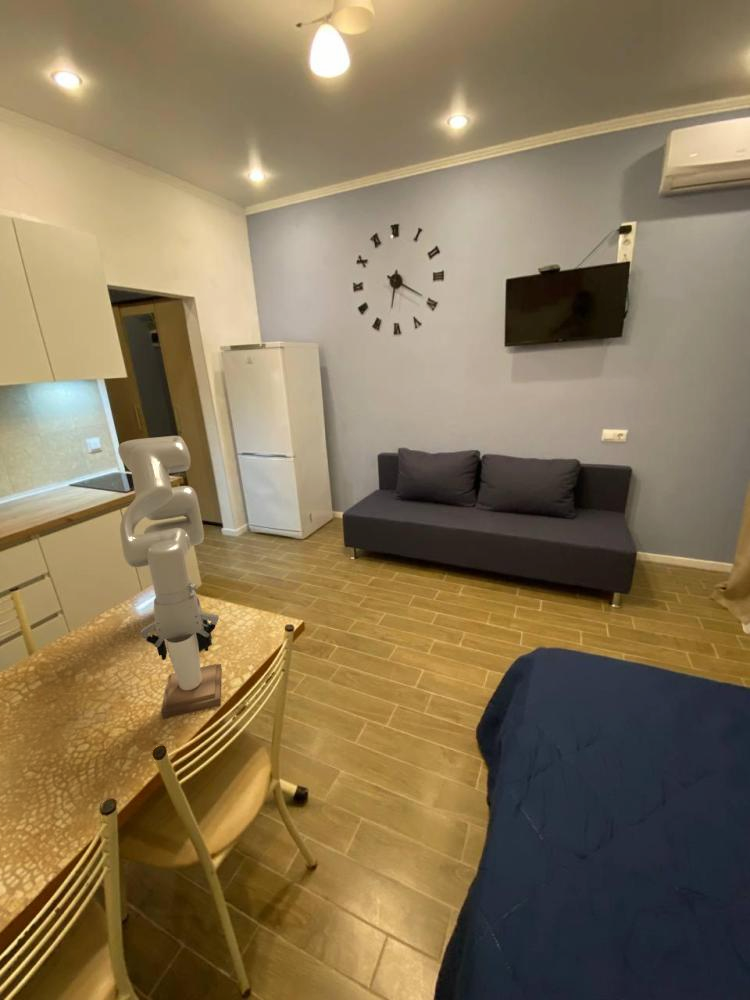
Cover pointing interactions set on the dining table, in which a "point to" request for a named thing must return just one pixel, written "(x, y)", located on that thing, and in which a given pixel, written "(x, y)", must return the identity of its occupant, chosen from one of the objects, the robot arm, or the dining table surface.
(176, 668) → the drinking glass
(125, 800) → the dining table surface
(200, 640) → the speaker
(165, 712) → the pedestal
